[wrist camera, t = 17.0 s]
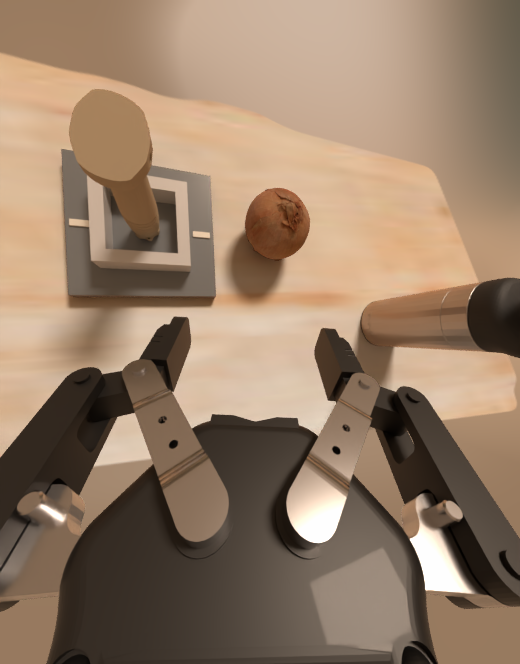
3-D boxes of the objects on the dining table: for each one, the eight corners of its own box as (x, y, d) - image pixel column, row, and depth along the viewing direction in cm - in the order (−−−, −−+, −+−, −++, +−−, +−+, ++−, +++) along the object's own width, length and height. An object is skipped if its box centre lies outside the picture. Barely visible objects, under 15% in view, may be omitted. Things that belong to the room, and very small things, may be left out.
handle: (122, 248, 29) (61, 164, 15) (131, 201, 29) (79, 76, 15) (162, 257, 30) (141, 190, 16) (169, 213, 31) (156, 110, 17)
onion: (298, 255, 39) (335, 230, 30) (254, 275, 36) (278, 254, 27) (276, 204, 38) (306, 160, 28) (228, 221, 35) (244, 178, 26)
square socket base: (209, 182, 34) (212, 161, 30) (214, 297, 34) (218, 292, 30) (67, 158, 28) (46, 126, 24) (74, 297, 28) (54, 290, 24)
